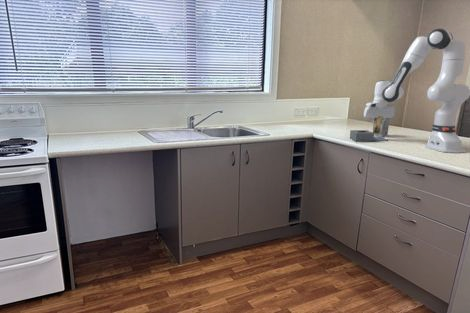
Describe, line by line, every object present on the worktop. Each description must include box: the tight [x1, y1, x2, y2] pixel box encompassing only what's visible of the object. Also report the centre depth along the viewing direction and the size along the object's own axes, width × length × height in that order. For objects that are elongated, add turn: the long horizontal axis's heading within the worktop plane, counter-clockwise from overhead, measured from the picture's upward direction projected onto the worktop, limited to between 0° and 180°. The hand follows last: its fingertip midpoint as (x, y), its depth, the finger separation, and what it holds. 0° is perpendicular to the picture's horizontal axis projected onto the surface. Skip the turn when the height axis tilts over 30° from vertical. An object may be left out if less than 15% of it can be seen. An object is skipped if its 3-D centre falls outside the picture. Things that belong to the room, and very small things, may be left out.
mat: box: [373, 136, 388, 142], centre depth 238 cm, size 12×10×1 cm
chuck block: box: [349, 129, 375, 143], centre depth 234 cm, size 12×12×6 cm
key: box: [372, 116, 382, 133], centre depth 236 cm, size 4×4×12 cm
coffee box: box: [372, 118, 391, 138], centre depth 249 cm, size 9×6×16 cm
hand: (377, 124), depth 235 cm, fingers closed on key, 4 cm apart
